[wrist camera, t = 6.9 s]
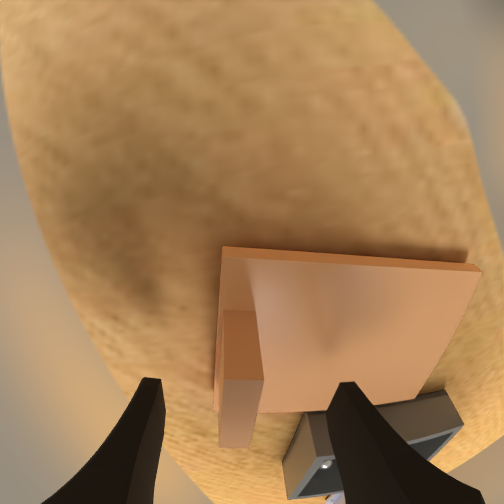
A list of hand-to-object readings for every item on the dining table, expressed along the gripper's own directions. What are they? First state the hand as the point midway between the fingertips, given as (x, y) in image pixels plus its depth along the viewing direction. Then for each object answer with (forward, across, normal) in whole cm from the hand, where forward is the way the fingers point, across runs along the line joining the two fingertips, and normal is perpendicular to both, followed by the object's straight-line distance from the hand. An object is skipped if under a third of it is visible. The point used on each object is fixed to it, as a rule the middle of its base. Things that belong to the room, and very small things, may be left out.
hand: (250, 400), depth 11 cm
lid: (+3, -5, 0) cm, 6 cm away
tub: (+4, -10, +10) cm, 14 cm away
